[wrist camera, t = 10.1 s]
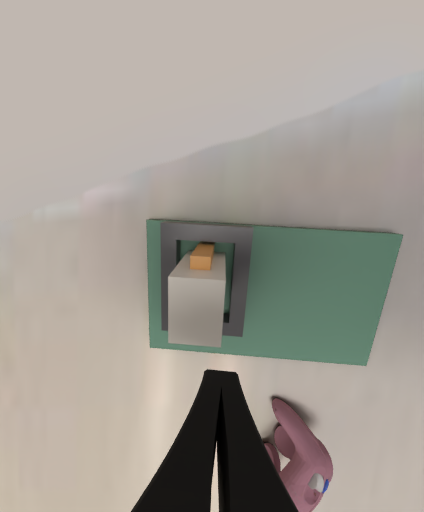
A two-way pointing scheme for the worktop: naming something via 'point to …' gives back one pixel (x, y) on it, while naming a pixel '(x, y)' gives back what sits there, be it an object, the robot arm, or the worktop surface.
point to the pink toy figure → (300, 458)
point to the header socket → (240, 269)
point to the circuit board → (296, 292)
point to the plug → (197, 297)
